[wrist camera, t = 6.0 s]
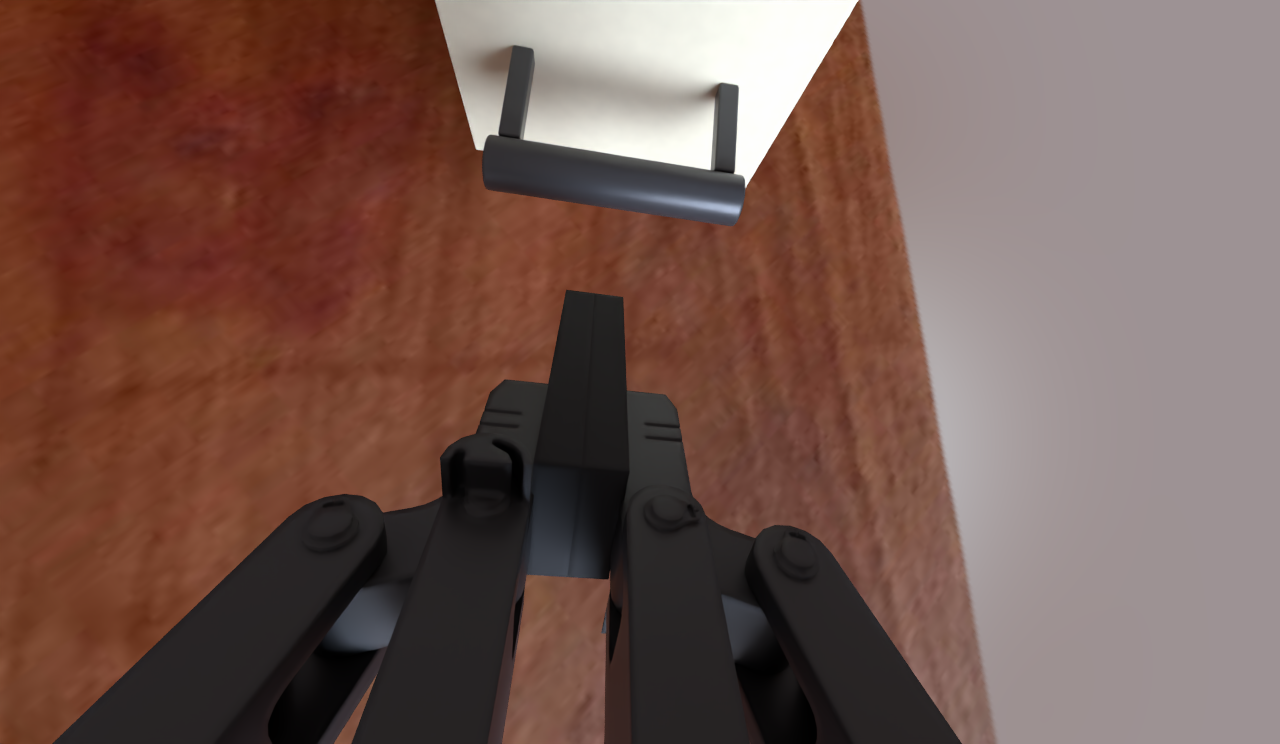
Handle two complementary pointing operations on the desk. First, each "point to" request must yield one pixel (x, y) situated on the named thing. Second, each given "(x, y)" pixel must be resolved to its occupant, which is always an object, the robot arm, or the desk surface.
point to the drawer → (634, 95)
